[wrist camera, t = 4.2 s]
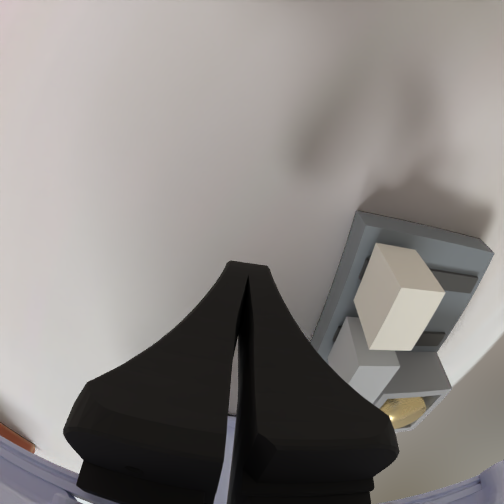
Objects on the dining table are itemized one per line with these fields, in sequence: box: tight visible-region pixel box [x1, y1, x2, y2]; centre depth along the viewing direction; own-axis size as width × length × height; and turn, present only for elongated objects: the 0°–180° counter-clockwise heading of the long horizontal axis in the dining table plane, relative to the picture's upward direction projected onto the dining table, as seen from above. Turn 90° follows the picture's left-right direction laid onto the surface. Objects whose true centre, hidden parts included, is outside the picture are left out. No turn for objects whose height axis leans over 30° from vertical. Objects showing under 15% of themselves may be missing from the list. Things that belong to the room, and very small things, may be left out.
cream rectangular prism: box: [354, 243, 445, 351], centre depth 11 cm, size 2×3×3 cm, turn 172°
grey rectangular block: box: [328, 317, 400, 404], centre depth 13 cm, size 2×3×3 cm, turn 172°
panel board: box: [311, 211, 494, 432], centre depth 14 cm, size 8×12×4 cm, turn 172°
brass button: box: [380, 397, 426, 429], centre depth 16 cm, size 3×3×3 cm
